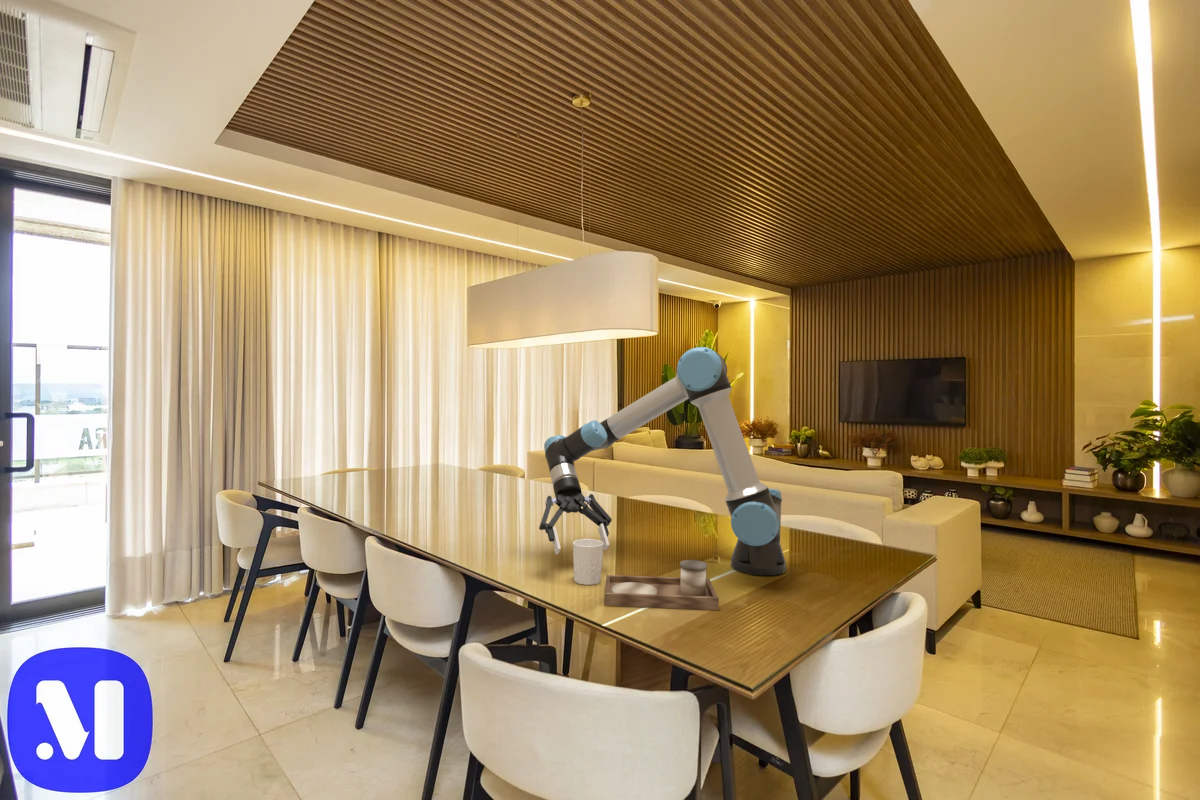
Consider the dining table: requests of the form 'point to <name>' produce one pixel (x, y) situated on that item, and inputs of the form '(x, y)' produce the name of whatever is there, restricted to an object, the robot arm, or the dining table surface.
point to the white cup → (587, 561)
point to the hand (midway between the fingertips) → (582, 549)
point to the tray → (664, 589)
